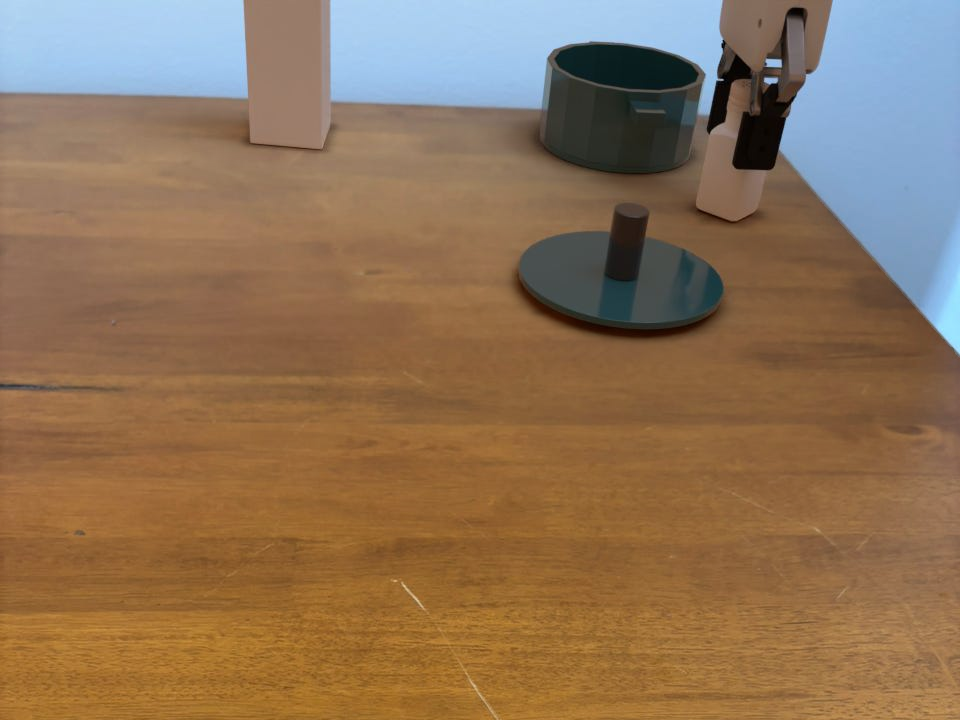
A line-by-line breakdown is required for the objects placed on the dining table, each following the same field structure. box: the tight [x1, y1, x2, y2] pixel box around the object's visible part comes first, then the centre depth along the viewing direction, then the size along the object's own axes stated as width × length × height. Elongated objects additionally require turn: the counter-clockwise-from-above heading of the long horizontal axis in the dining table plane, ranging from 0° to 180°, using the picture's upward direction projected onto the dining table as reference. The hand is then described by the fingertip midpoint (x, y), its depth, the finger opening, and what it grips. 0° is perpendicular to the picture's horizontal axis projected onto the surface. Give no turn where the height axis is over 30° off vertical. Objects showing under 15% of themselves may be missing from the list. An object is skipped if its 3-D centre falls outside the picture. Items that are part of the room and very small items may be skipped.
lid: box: [517, 202, 725, 330], centre depth 80 cm, size 14×14×6 cm
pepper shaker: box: [695, 79, 771, 222], centre depth 91 cm, size 4×4×10 cm
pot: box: [538, 40, 707, 174], centre depth 102 cm, size 13×19×6 cm
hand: (739, 149), depth 91 cm, fingers open, 6 cm apart
